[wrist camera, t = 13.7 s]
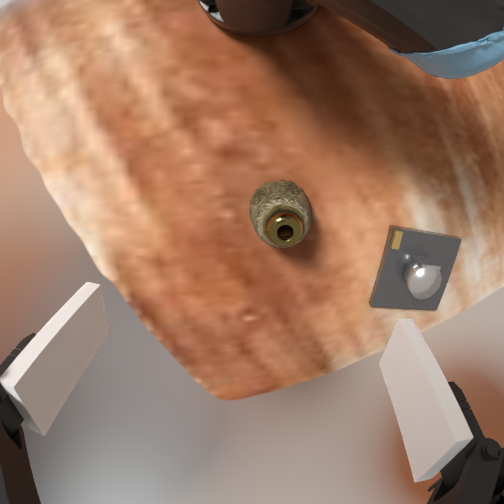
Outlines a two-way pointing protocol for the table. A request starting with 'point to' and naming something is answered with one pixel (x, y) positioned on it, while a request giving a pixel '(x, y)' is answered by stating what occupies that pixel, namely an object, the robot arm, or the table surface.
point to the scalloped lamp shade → (280, 213)
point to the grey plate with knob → (414, 269)
